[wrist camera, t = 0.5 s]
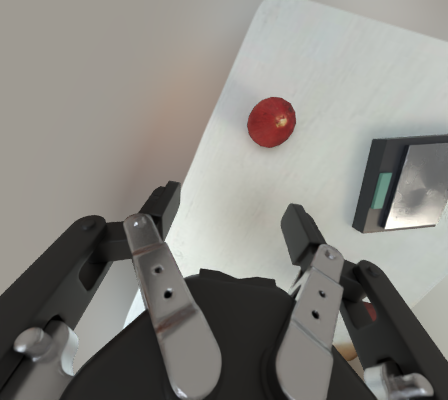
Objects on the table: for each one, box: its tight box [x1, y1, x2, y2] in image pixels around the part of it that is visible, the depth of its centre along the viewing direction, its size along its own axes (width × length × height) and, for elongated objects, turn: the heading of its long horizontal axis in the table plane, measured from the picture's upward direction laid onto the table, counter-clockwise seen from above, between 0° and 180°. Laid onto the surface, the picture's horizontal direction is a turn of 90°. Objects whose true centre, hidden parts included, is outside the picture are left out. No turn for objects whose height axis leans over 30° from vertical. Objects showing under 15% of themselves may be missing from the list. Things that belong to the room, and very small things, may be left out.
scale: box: [352, 134, 448, 233], centre depth 29 cm, size 16×14×3 cm
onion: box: [247, 97, 296, 148], centre depth 21 cm, size 6×6×8 cm
